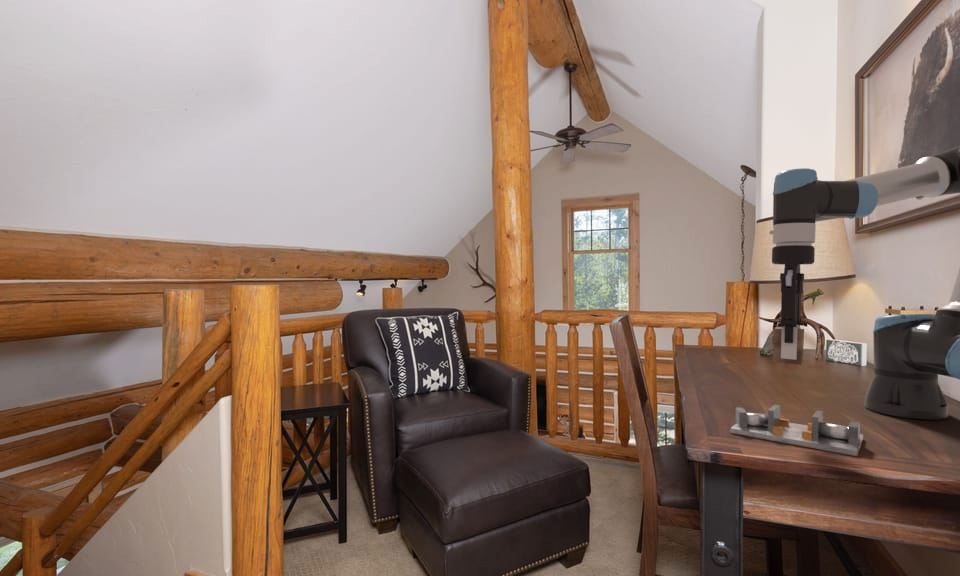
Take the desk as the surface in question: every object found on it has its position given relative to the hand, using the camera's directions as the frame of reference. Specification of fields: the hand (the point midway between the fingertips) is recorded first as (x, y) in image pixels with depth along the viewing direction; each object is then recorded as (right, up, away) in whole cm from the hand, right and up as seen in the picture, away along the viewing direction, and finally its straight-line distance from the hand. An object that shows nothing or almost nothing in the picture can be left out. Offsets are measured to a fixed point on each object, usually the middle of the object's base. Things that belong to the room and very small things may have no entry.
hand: (790, 357), depth 104 cm
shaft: (-7, -15, +1) cm, 16 cm away
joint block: (0, -1, 0) cm, 1 cm away
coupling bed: (-1, -16, -3) cm, 16 cm away
